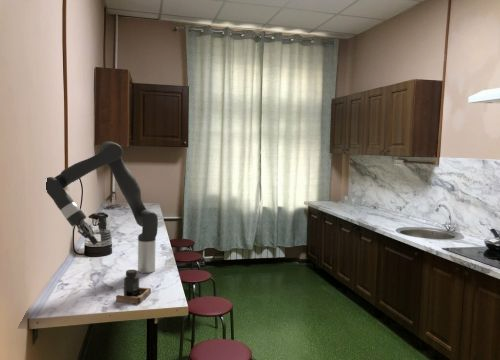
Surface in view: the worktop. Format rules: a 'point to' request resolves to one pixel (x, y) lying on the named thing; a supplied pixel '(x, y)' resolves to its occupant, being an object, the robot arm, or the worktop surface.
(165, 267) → the worktop surface
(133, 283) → the supplement bottle
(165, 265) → the worktop surface
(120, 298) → the walnut frame
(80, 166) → the robot arm
